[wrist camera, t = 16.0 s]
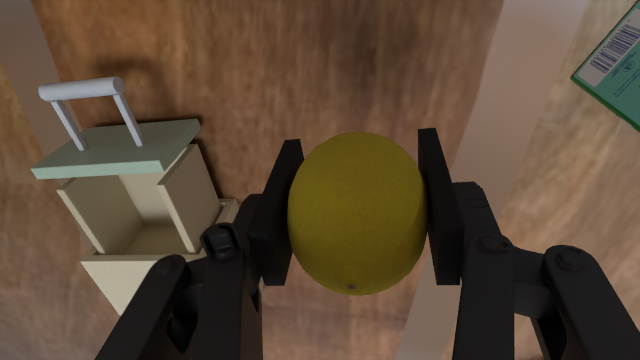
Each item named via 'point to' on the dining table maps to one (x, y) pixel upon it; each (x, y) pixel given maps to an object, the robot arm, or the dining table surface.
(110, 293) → the cabinet
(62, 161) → the drawer
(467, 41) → the dining table surface
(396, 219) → the lemon
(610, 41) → the milk carton
